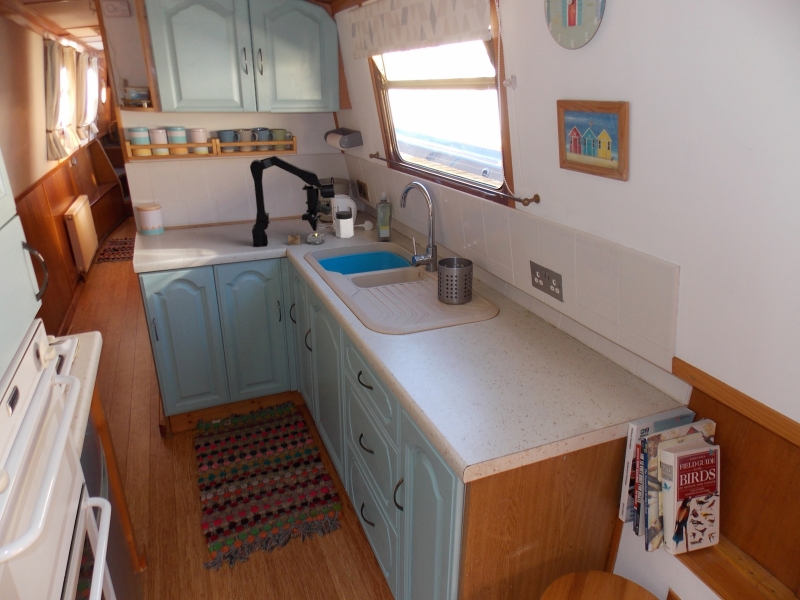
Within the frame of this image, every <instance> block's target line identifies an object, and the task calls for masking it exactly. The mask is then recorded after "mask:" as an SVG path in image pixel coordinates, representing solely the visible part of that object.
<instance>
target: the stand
mask: <svg viewBox="0 0 800 600" xmlns="http://www.w3.org/2000/svg"><path fill="white" fill-rule="evenodd" d="M291 234H292V235H287V242H288V243H287V244H288V246H295V245H301V235H300V234H296V233H295V232H292V233H291Z"/></svg>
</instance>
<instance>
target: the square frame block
mask: <svg viewBox="0 0 800 600" xmlns="http://www.w3.org/2000/svg"><path fill="white" fill-rule="evenodd" d="M317 235H318V236H314V233H310V234H309V235H307V237H306V239H307V241H306V242H307V243H308V242H322V241H323V240H325V237H326V235H325V233H317Z"/></svg>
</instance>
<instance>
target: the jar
mask: <svg viewBox="0 0 800 600" xmlns="http://www.w3.org/2000/svg"><path fill="white" fill-rule="evenodd" d="M334 222H335V223H334V226H335V237H337V238H339V239H347V238H348V239H349V238H352V237H354V217H353V212H352V211H349V210H341V211H340V210H339V211H336V212H335V218H334Z"/></svg>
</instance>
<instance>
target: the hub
mask: <svg viewBox="0 0 800 600" xmlns="http://www.w3.org/2000/svg"><path fill="white" fill-rule="evenodd" d="M313 234H314V236H318V235H317V234H318V232H314V233H313ZM325 242H326V240H325V239H324V240H323V241H322V242H307V244H308V245H311V246H318V245H322V244H325Z"/></svg>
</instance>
